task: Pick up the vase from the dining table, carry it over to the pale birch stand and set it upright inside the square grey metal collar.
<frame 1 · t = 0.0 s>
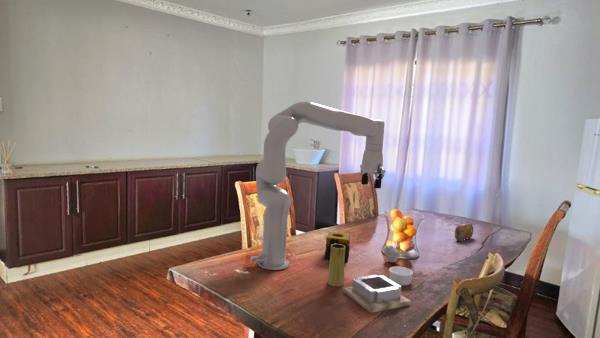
hand: (370, 186, 174), 31 cm above the table, tool pointing down, fingers open, 9 cm apart
collar: (376, 294, 133), resting on stand board
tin: (463, 239, 211), on the table
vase: (335, 283, 144), on the table
ramekin: (400, 282, 149), on the table
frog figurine: (391, 262, 170), on the table
stand board: (375, 298, 134), on the table
dark olive cube holder: (337, 257, 172), on the table
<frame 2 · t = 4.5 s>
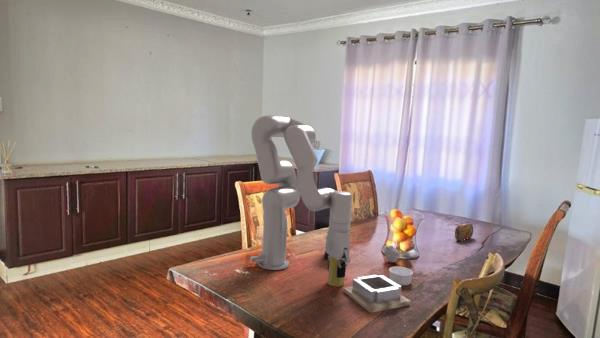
hand: (336, 273, 143), 4 cm above the table, tool pointing down, fingers closed on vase, 5 cm apart
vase: (335, 283, 144), on the table, touching gripper
everything else where it was.
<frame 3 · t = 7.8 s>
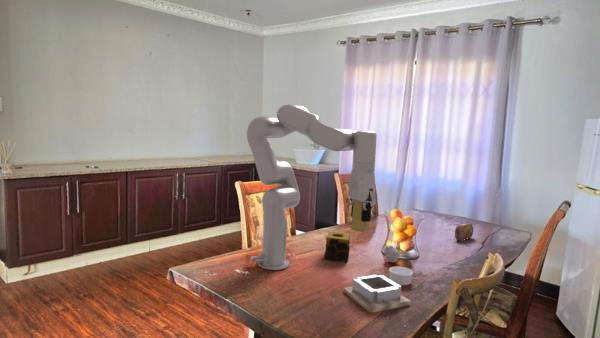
hand: (360, 218, 136), 26 cm above the table, tool pointing down, fingers closed on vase, 5 cm apart
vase: (359, 229, 136), point 22 cm above the table, touching gripper
everything else where it was.
when the fingers open (7 cm above the table, at t = 11.3 s): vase drops 1 cm, resting on stand board.
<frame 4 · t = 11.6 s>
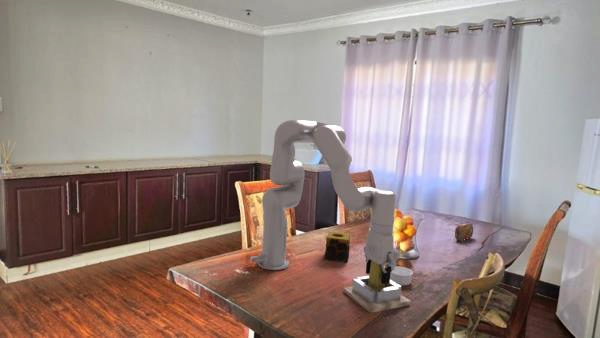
hand: (377, 277, 133), 7 cm above the table, tool pointing down, fingers open, 8 cm apart
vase: (375, 293, 134), point 1 cm above the table, touching stand board
everything else where it was.
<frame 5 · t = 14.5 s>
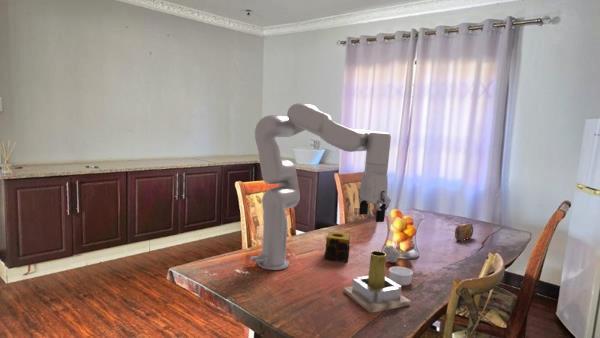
hand: (371, 217, 134), 27 cm above the table, tool pointing down, fingers open, 9 cm apart
nothing on the table moved.
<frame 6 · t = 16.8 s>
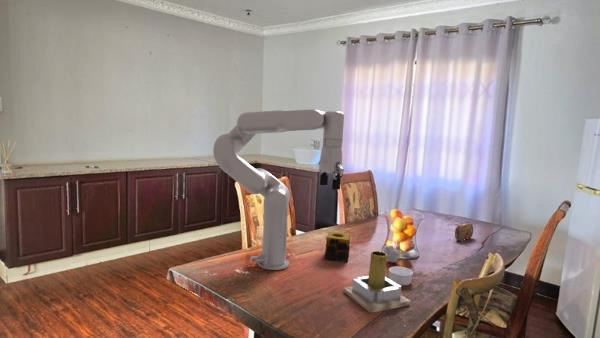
hand: (329, 187, 154), 33 cm above the table, tool pointing down, fingers open, 9 cm apart
nothing on the table moved.
at the end: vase 0.3 cm off-centre on the collar, point 0.0 cm above the collar's base; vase tilted 0°; the gripper is holding nothing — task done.
